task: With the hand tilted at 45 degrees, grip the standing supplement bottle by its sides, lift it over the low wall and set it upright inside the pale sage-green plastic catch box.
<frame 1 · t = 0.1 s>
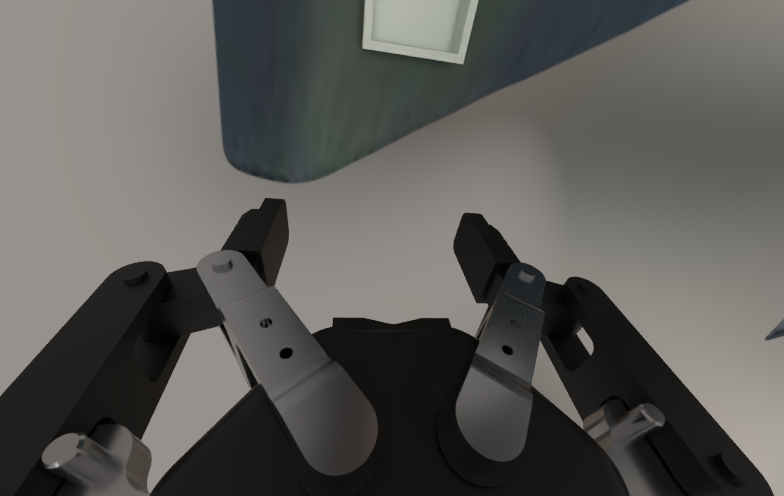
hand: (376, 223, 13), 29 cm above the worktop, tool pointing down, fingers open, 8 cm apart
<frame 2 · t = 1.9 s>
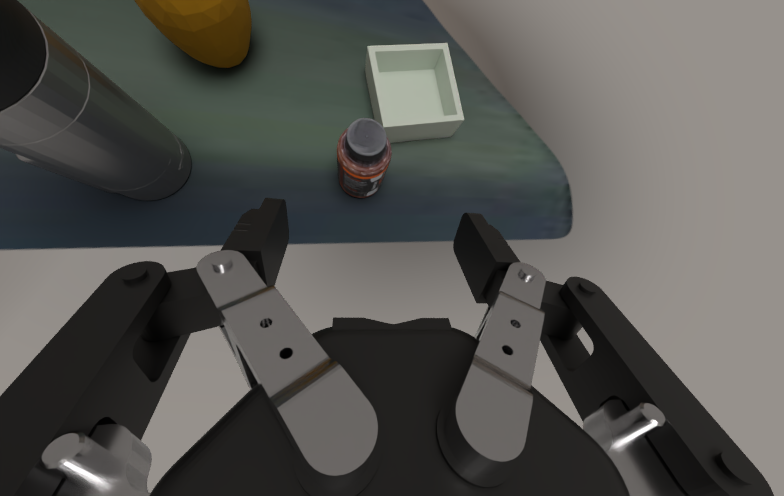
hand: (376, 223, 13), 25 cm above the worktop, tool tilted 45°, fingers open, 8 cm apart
apple: (222, 48, 37), on the worktop
supplement bottle: (360, 178, 38), on the worktop
catch box: (408, 104, 41), on the worktop
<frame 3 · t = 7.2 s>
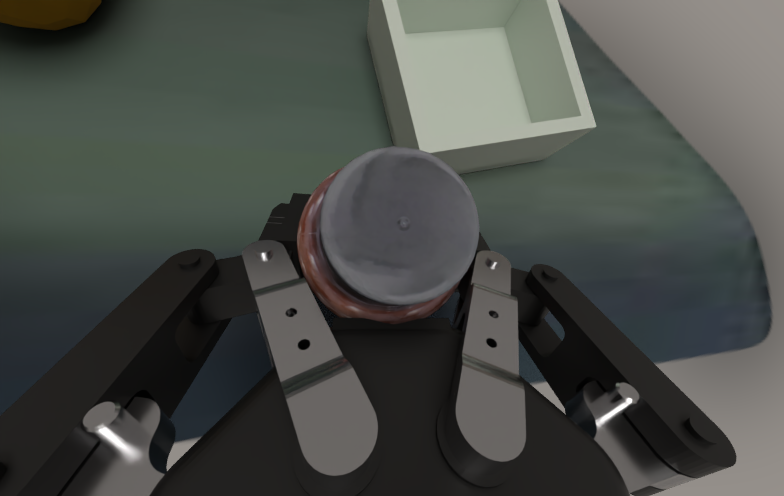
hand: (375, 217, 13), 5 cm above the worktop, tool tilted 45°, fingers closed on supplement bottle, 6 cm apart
supplement bottle: (366, 261, 18), on the worktop, touching gripper
catch box: (457, 99, 20), on the worktop
when the fingers open (8 cm above the worktop, at t = 13.1 s): supplement bottle drops 2 cm, resting on catch box.
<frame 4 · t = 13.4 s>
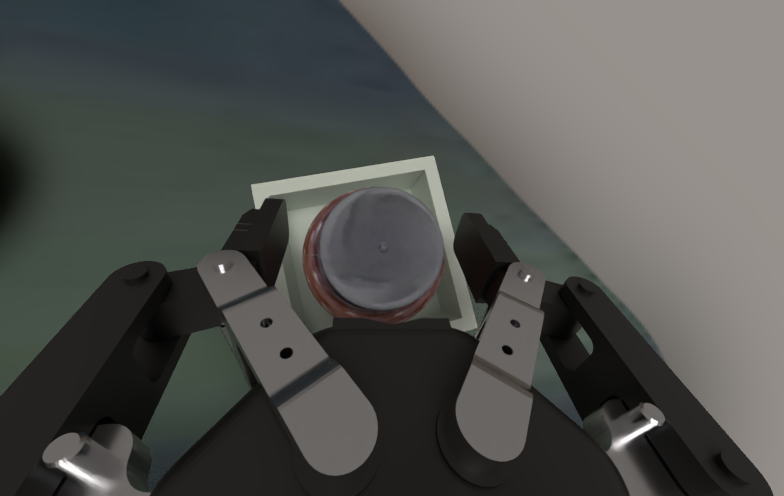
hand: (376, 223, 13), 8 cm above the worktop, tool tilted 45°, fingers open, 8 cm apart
supplement bottle: (365, 268, 20), point 1 cm above the worktop, touching catch box
catch box: (363, 263, 21), on the worktop
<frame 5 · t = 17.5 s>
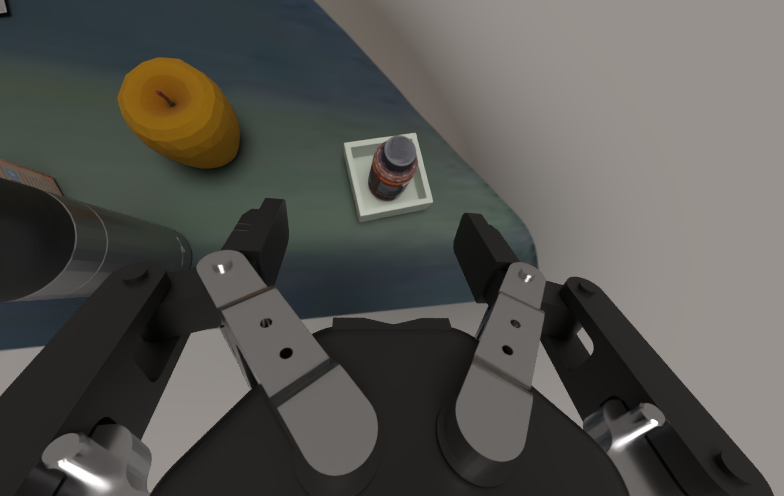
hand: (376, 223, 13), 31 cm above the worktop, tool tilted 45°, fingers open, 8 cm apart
apple: (215, 147, 42), on the worktop
cracker box: (8, 219, 36), on the worktop
supplement bottle: (385, 184, 44), point 1 cm above the worktop, touching catch box
catch box: (384, 183, 45), on the worktop
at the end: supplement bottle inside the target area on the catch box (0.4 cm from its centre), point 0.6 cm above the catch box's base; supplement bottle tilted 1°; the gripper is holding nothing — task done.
